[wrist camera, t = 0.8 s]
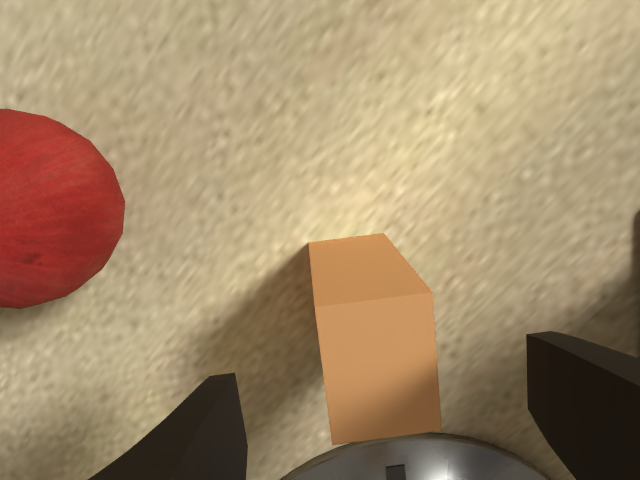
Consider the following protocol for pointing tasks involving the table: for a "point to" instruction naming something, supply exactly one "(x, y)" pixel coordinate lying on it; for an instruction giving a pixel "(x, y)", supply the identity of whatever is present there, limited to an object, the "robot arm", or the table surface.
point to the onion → (52, 210)
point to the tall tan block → (374, 340)
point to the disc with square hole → (418, 461)
